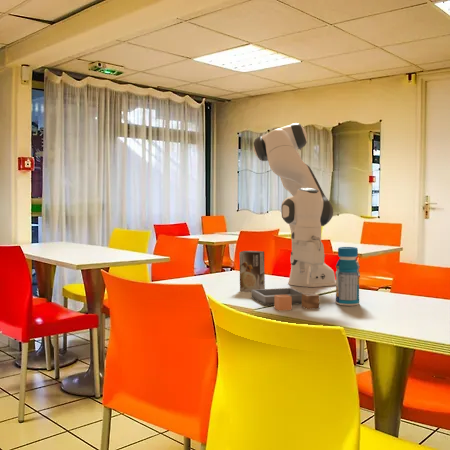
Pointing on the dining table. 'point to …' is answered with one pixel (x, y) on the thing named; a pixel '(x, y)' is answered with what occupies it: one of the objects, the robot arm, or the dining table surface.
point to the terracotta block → (282, 302)
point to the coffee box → (251, 270)
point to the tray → (268, 294)
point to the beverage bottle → (347, 277)
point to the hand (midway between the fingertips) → (307, 275)
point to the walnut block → (310, 300)
